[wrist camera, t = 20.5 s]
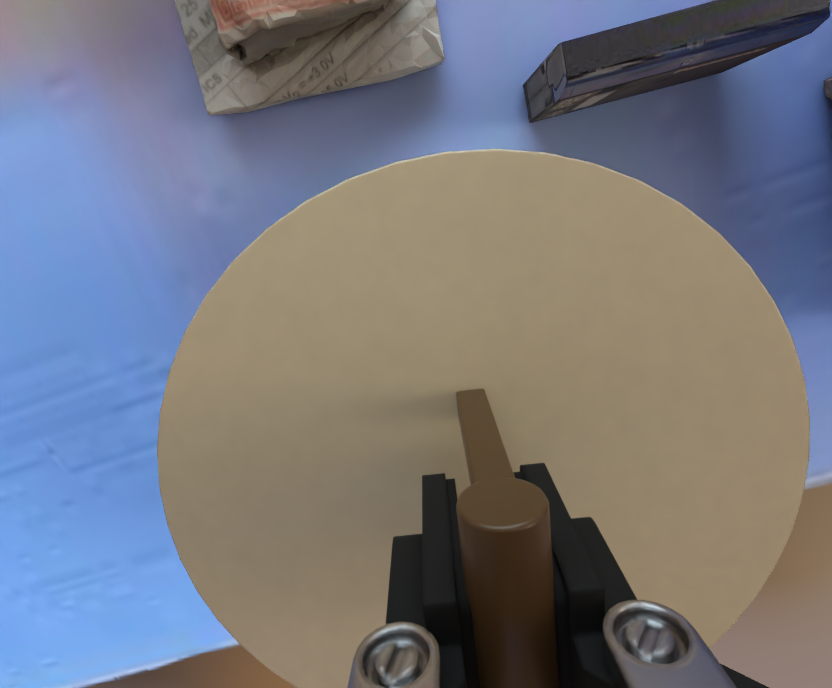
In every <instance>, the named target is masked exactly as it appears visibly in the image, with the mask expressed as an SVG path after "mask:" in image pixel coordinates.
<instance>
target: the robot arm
mask: <svg viewBox="0 0 832 688" xmlns="http://www.w3.org/2000/svg"><path fill="white" fill-rule="evenodd" d="M513 473H514V476H515V478H516V479H521V480H524V481H527V482H530V483H532V484H534V485H536V486H537V487H539V488H540V489H541V490H542V491H543V492H544V494H545V495H546V497H547V499H548V502H549V510H550V527H551V543H552V560H553V576H554V592H555V619H556V636H557V652H558V668H559V684H560V688H768V687H766V686H765V685H762V684H760V683H758V682H756V681H754V680H752V679H750V678H748V677H746V676H744V675H742V674H740V673H738V672H736V671H734V670H732V669H730V668H728V667H726V666H724V665H722V664H720V663H719V662H718V660H717V659H716V658H715V656H714V655H713V653H712V652H711V651H710V649H709V648H708V646H707V645H706V644H705V642H704V641H703V639H702V638H701V637H700V635H699V634H698V632H697V631H696V630H695V628H694V627H693V626H692V625H691V624H690V623H689V622H688V620H687V619H686V618H685V617H684V616H682V615H681V614H679V613H678V612H676V611H675V610H673V609H672V608H669V607H667V606H664V605H662V604H660V603H657V602H652V601H647V600H637V598H636V596H635V594H634V593H633V591H632V589H631V587H630V585H629V583H628V582H627V580H626V578H625V576H624V574H623V572H622V571H621V569H620V567H619V565H618V563H617V562H616V560H615V558H614V556H613V554H612V552H611V551H610V549H609V547H608V545H607V543H606V541H605V540H604V538H603V536H602V534H601V532H600V530H599V529H598V527H597V525H596V523H595V522H594V520H593V519H592V518H591V517H582V518H572V519H571V517H570V515H569V513H568V511H567V509H566V507H565V505H564V503H563V501H562V499H561V496H560V494H559V492H558V490H557V488H556V486H555V484H554V482H553V480H552V478H551V475H550V473H549V471H548V469H547V467H546V465H545V463H535V464H526V465H520V472H513ZM456 504H457V492H456V484H455V478H454V479H446V477H445V473H441V474H432V475H422V534H414V535H404V536H394V537H393V542H392V554H391V566H390V578H389V590H388V602H387V614H386V625H384V626H381V627H379V628H377V629H375V630H374V631H372V632H371V633H370V634H369V635H367V636H366V637H365V638H364V639H363V641H362V642H361V643H360V645H359V646H358V648H357V650H356V653H355V655H354V658H353V663H352V668H351V672H350V677H349V682H348V687H347V688H480V684H479V675H478V666H477V658H476V649H475V640H474V631H473V623H472V614H471V610H470V606H469V603H468V599H467V595H466V590H465V582H464V573H463V565H462V556H461V548H460V539H459V530H458V522H457V513H456Z"/></svg>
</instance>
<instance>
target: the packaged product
mask: <svg viewBox="0 0 832 688" xmlns="http://www.w3.org/2000/svg"><path fill="white" fill-rule="evenodd" d="M174 1H175V4H176V8H177V11H178V14H179V17H180V20H181V23H182V27H183V31H184V35H185V38H186V41H187V44H188V47H189V50H190V54H191V58H192V62H193V65H194V68H195V70H196V73H197V76H198V79H199V83H200V86H201V89H202V93H203V98H204V102H205V106H206V109H207V112H208V114H209V115H226V114H235V113H243V112H251V111H255V110H258V109H262V108H266V107H270V106H273V105H277V104H281V103H285V102H289V101H292V100H296V99H300V98H305V97H310V96H315V95H320V94H325V93H330V92H335V91H340V90H345V89H350V88H355V87H360V86H365V85H370V84H375V83H380V82H385V81H390V80H394V79H397V78H400V77H403V76H406V75H409V74H412V73H415V72H418V71H422V70H425V69H428V68H431V67H434V66H437V65H440V64H441V63H442V62H443V61H444V60H445V57H444V52H443V46H442V40H441V34H440V28H439V22H438V16H437V9H436V3H435V0H174Z"/></svg>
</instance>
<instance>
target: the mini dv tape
mask: <svg viewBox="0 0 832 688" xmlns="http://www.w3.org/2000/svg"><path fill="white" fill-rule="evenodd" d="M829 16H830V0H715V1H712V2H708V3H704V4H701V5H697V6H693V7H690V8H686V9H682V10H679V11H675V12H671V13H668V14H664V15H660V16H657V17H653V18H649V19H646V20H642V21H638V22H635V23H631V24H627V25H624V26H620V27H617V28H613V29H609V30H606V31H602V32H598V33H595V34H591V35H587V36H584V37H580V38H576V39H573V40H569V41H565V42H562V43H559V44H558V45H557V46H556V47H555V49H554V50H553V51H552V52H551V53H550V54H549V56H548V57H547V58H546V59H545V60H544V61H543V63H542V64H541V65H540V66H539V67H538V68H537V69H536V71H535V72H534V73H533V74H532V75H531V76H530V78H529V79H528V80H527V81H526V82H525V83H524V85H523V88H524V94H525V100H526V106H527V112H528V117H529V123H531V122H535V121H539V120H543V119H547V118H551V117H554V116H558V115H562V114H566V113H570V112H574V111H577V110H581V109H585V108H589V107H593V106H596V105H600V104H604V103H608V102H612V101H615V100H619V99H623V98H627V97H631V96H634V95H638V94H642V93H646V92H650V91H654V90H657V89H661V88H665V87H669V86H673V85H676V84H680V83H684V82H688V81H692V80H695V79H699V78H703V77H707V76H711V75H715V74H718V73H721V72H724V71H726V70H729V69H731V68H733V67H735V66H738V65H740V64H742V63H744V62H747V61H749V60H751V59H753V58H756V57H758V56H760V55H763V54H765V53H767V52H769V51H772V50H774V49H776V48H778V47H781V46H783V45H785V44H787V43H790V42H792V41H794V40H796V39H799V38H801V37H803V36H805V35H808V34H810V33H812V32H813V31H814V30H815V29H816V28H817V27H819V26H820V25H821V24H822V23H823V22H824V21H825V20H827V19H828V18H829Z"/></svg>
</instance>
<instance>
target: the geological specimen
mask: <svg viewBox="0 0 832 688" xmlns="http://www.w3.org/2000/svg"><path fill="white" fill-rule="evenodd" d="M824 91H825V94H826V97H828V98H830V99H832V77H831V78H829V79H827V80H825V81H824Z"/></svg>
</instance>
